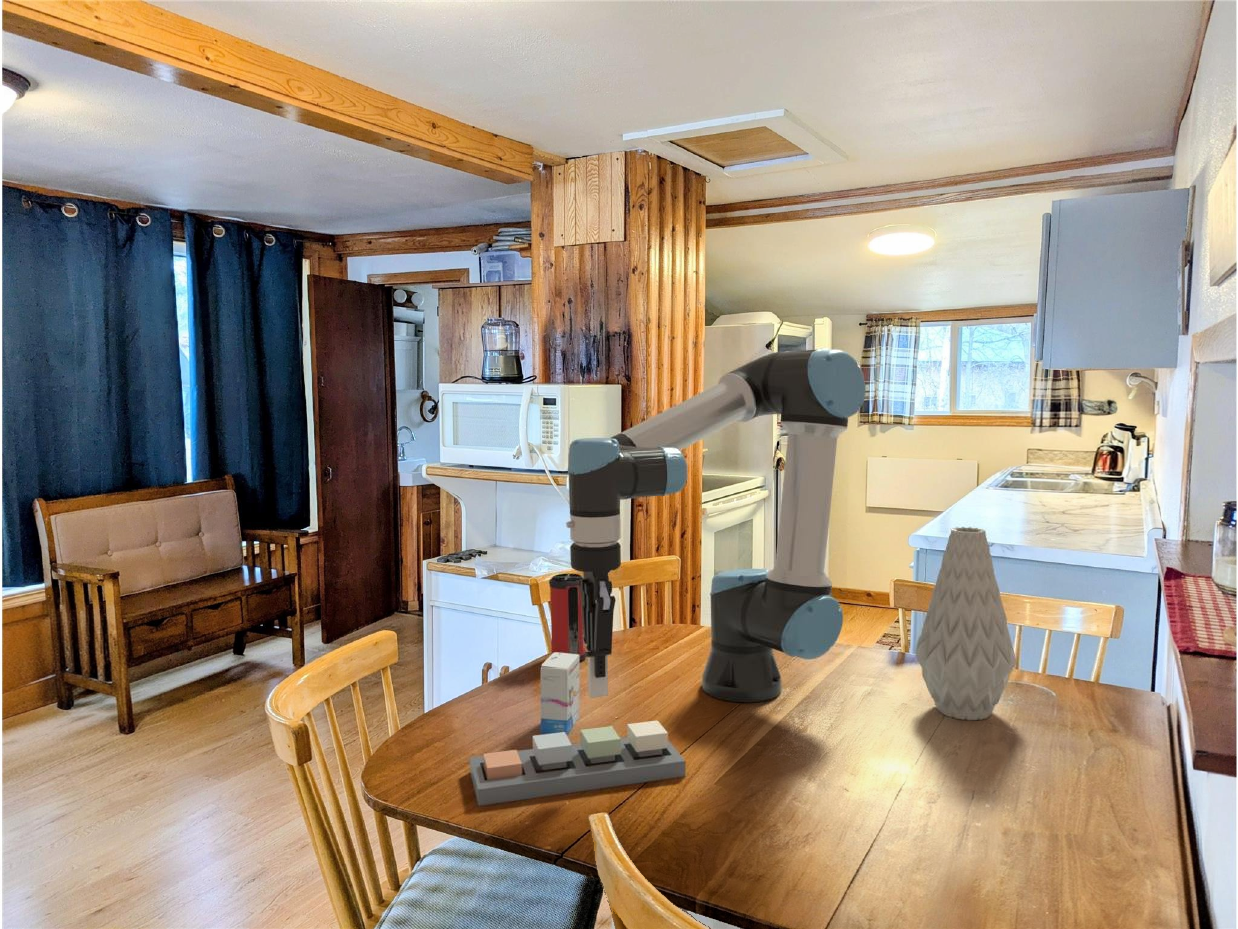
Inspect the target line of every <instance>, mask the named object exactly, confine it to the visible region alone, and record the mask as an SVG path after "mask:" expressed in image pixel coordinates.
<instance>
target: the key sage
mask: <svg viewBox="0 0 1238 929" xmlns="http://www.w3.org/2000/svg"><path fill="white" fill-rule="evenodd" d="M620 738H621V737H620V736H619V734H618V733H617V731H616V730H615V729H614V727H613V726H612V725H609V726H601V727H594V728H586V729H580V743H581V746H582V748H583V750H584V751H585V753H586V755H587V757H588V758H589V759H590V761H591V763H590V764H598V763H606V762H615V755H618V754H621V739H620Z"/></svg>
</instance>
